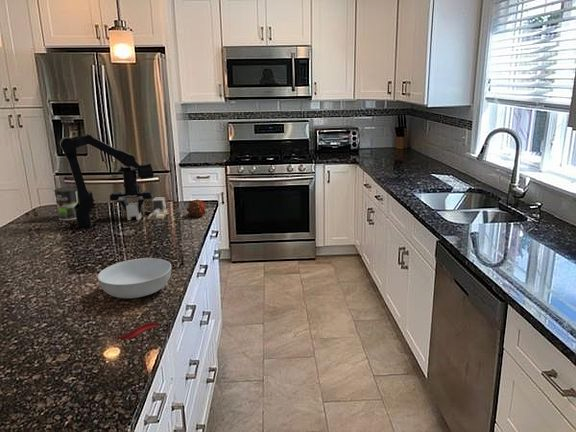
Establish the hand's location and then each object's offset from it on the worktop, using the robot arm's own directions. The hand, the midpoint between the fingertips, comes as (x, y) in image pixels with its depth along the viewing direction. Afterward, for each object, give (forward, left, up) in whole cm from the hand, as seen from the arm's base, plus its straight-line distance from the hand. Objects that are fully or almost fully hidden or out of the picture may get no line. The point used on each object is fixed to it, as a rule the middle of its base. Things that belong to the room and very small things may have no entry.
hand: (134, 213), depth 219 cm
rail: (+4, -10, -2) cm, 11 cm away
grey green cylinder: (+8, +32, -3) cm, 33 cm away
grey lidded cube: (0, 0, -2) cm, 2 cm away
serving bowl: (-84, -20, -3) cm, 86 cm away
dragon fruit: (0, -29, -3) cm, 29 cm away
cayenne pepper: (-109, -26, -3) cm, 112 cm away
